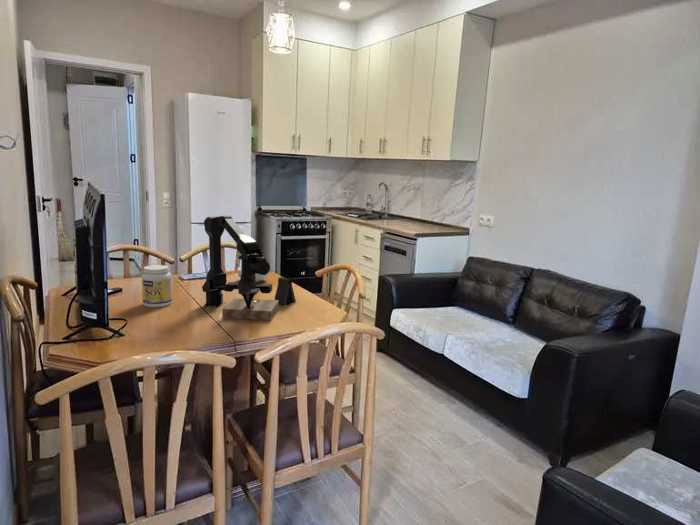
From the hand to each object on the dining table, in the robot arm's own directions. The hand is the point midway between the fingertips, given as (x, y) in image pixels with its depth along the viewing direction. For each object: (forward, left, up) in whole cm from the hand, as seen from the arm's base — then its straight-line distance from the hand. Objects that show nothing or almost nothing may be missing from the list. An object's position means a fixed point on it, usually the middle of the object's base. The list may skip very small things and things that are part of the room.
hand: (248, 307), depth 192 cm
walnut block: (0, +5, -4) cm, 6 cm away
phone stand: (+11, +23, -4) cm, 26 cm away
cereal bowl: (-14, +64, -4) cm, 66 cm away
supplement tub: (-44, +12, -4) cm, 46 cm away
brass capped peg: (0, +10, -4) cm, 11 cm away
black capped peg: (0, 0, -4) cm, 4 cm away
